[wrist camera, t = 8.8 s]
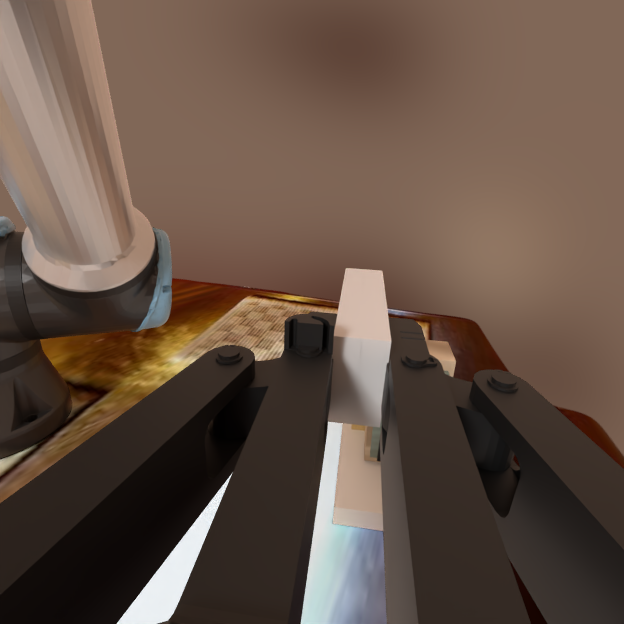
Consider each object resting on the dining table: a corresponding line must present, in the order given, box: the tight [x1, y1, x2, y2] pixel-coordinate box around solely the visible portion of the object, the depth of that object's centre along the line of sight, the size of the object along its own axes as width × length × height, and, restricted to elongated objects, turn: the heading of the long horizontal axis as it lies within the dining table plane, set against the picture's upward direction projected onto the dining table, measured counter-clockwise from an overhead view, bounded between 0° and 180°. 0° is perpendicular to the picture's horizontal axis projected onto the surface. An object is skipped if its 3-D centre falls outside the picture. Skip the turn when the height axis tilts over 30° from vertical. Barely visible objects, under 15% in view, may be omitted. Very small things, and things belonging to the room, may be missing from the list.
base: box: [333, 423, 383, 531], centre depth 41 cm, size 14×12×2 cm
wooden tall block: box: [364, 340, 456, 462], centre depth 39 cm, size 5×7×12 cm, turn 82°
